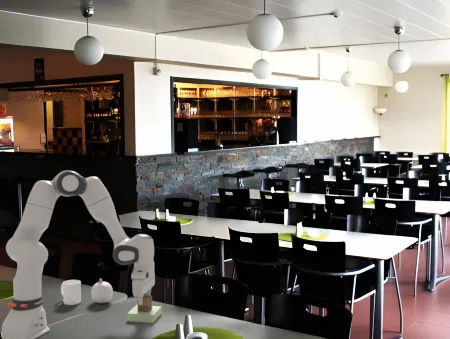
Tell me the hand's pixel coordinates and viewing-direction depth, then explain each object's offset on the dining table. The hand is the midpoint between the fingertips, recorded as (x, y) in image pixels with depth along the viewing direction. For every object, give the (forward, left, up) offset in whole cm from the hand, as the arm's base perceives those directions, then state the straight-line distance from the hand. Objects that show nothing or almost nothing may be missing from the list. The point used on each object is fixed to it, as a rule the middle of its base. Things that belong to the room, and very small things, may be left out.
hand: (144, 300), depth 249 cm
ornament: (+16, +27, -8) cm, 32 cm away
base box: (0, 0, -8) cm, 8 cm away
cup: (+14, +43, -8) cm, 46 cm away
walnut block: (0, 0, -4) cm, 4 cm away
